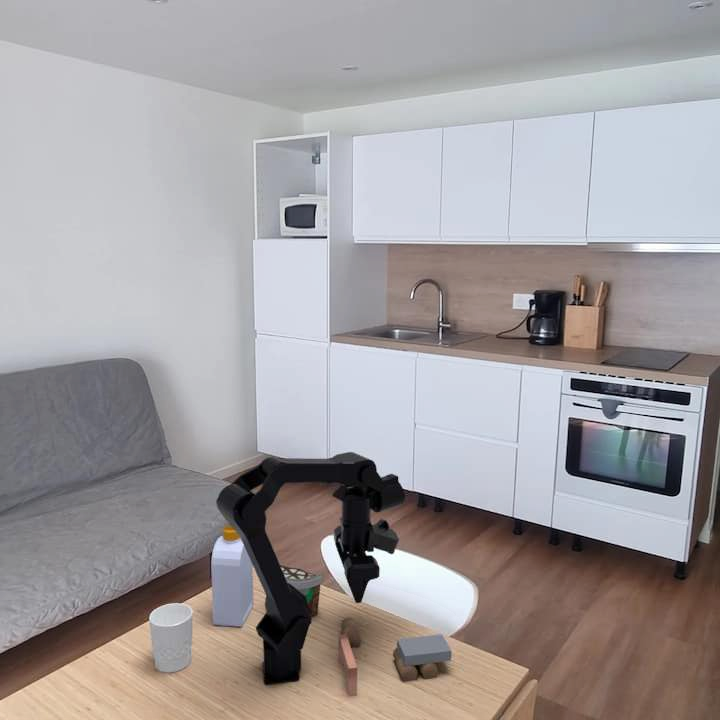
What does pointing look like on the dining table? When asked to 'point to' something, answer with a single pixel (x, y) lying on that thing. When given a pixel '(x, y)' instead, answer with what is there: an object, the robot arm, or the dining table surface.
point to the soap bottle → (231, 580)
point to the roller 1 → (351, 632)
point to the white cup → (171, 636)
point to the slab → (423, 650)
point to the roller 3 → (429, 670)
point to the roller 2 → (404, 668)
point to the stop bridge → (348, 664)
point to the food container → (305, 585)
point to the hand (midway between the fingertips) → (354, 590)
